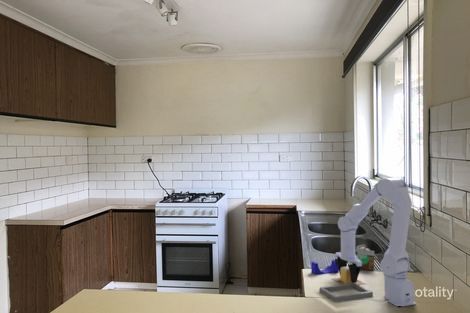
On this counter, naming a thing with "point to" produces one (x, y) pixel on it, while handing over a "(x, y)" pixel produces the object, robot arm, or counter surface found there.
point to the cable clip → (327, 270)
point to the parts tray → (363, 294)
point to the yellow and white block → (345, 275)
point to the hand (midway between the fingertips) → (348, 279)
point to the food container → (366, 257)
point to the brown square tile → (347, 283)
